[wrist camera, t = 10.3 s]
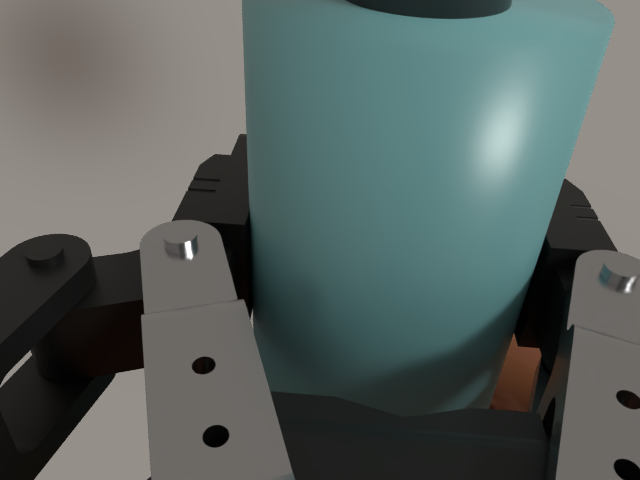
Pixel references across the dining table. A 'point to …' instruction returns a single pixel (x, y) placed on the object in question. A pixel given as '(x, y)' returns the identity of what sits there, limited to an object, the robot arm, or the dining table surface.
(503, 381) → the dining table surface
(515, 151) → the bottle
